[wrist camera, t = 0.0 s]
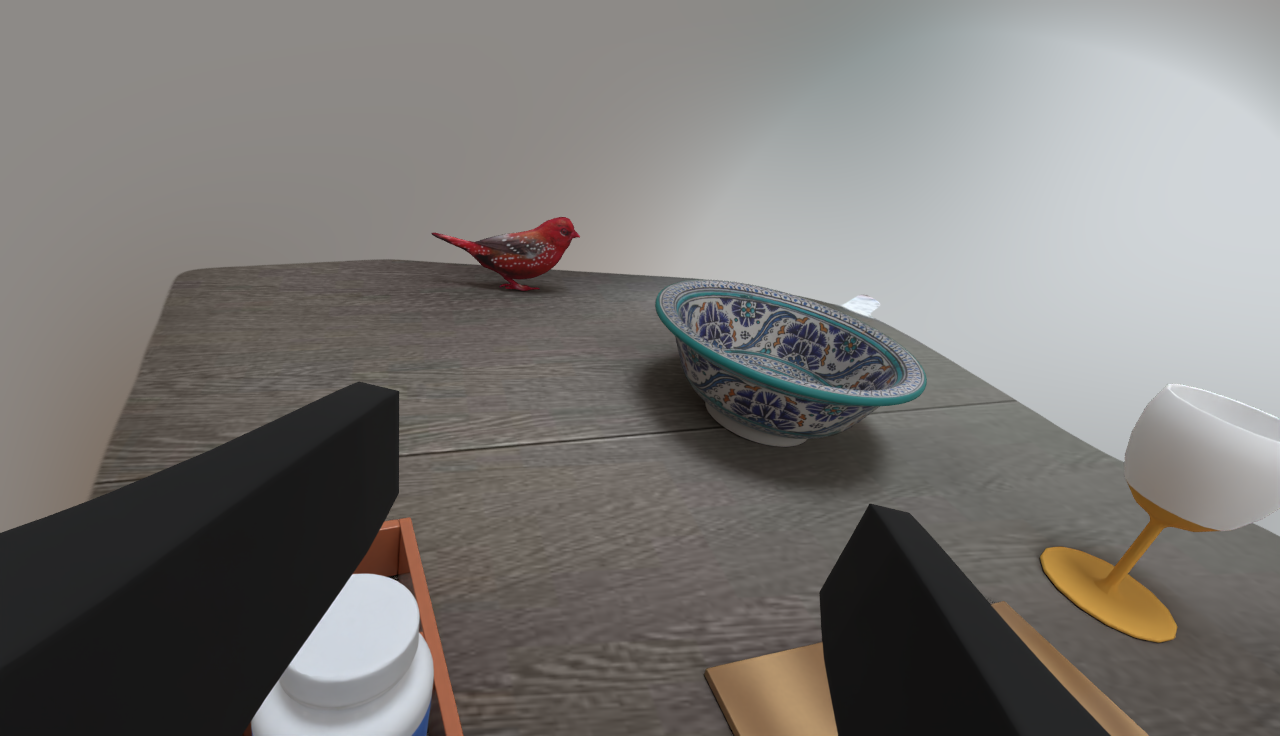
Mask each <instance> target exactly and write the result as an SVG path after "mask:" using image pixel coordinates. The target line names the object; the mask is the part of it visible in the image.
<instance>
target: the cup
mask: <svg viewBox="0 0 1280 736" xmlns="http://www.w3.org/2000/svg"><path fill="white" fill-rule="evenodd" d="M1124 477H1125V478H1126V481H1127V483H1128V485H1129V488H1130V490H1131V492H1132V494H1133V497H1134V499H1135V500H1136V502H1137V503H1138V504H1139V505H1140V506H1141V507H1142V508H1143V509H1144V510H1145V511H1146V512H1147V513H1148V514H1149V516H1150V522H1149V523H1148V525H1147V526H1146V527H1145V528H1144V530H1143V531H1142V532H1141V534H1140V535H1139V536H1138V537H1137V539H1136V540H1135V541H1134V543H1133V544H1132V545H1131V546H1130V548H1129V549H1128V550H1127V552H1126V553H1125V554H1124V555H1123V557H1122V558H1121V559H1120V561H1119V562H1118V563H1117V564H1116V566H1115V567H1114V566H1113V565H1111V564H1109V563H1108V562H1106V561H1104V560H1102V559H1099V558H1097V557H1094V556H1092V555H1090V554H1087V553H1085V552H1083V551H1079V550H1075V549H1070V548H1066V547H1052V548H1046V549H1045V551H1044V552H1043V553H1042V555H1041V556H1040V560H1041V563H1042V567H1043V570H1044V572H1045V573H1046V575H1047V576H1048V577H1049V579H1050V580H1051V581H1052V582H1053V584H1054V585H1055V586H1056V588H1057V589H1058V590H1059V591H1061V592H1062V593H1063V594H1064V595H1065V596H1066V597H1067V598H1069V599H1070V600H1071V601H1072V602H1073V603H1074V604H1076V605H1077V606H1078V607H1079V608H1081V609H1082V610H1084V611H1085V612H1087V613H1088V614H1090V615H1091V616H1093V617H1095V618H1096V619H1098V620H1099V621H1101V622H1102V623H1104V624H1106V625H1107V626H1110V627H1112V628H1114V629H1116V630H1119V631H1121V632H1123V633H1125V634H1128V635H1130V636H1132V637H1134V638H1139V639H1144V640H1148V641H1153V642H1157V643H1160V642H1164V641H1168V640H1172V639H1174V638H1175V635H1176V630H1177V625H1176V623H1175V621H1174V619H1173V618H1172V616H1171V614H1170V612H1169V610H1168V609H1167V608H1166V607H1165V606H1164V605H1163V604H1162V603H1161V602H1160V601H1159V599H1158V598H1157V597H1156V596H1155V595H1154V594H1153V593H1152V592H1151V591H1149V590H1148V589H1147V588H1145V587H1144V586H1143V585H1142V584H1140V583H1139V582H1138V581H1136V580H1135V579H1134V578H1132V577H1131V576H1130V575H1128V573H1129V571H1130V570H1131V569H1132V568H1133V566H1134V565H1135V564H1136V562H1137V561H1138V560H1139V559H1140V557H1141V556H1142V555H1143V554H1144V552H1145V551H1146V550H1147V549H1148V547H1149V546H1150V545H1151V544H1152V542H1153V541H1154V540H1155V539H1156V537H1157V536H1158V535H1159V534H1160V532H1161V531H1162V530H1163V529H1164V528H1166V527H1176V528H1180V529H1183V530H1188V531H1192V532H1206V531H1228V530H1234V529H1236V528H1239V527H1242V526H1245V525H1247V524H1250V523H1253V522H1256V521H1259V520H1261V519H1263V518H1265V517H1266V516H1268V515H1270V514H1271V513H1273V512H1274V511H1276V510H1278V509H1280V418H1277V417H1275V416H1273V415H1271V414H1269V413H1266V412H1264V411H1262V410H1260V409H1257V408H1254V407H1252V406H1249V405H1246V404H1244V403H1241V402H1239V401H1236V400H1234V399H1231V398H1228V397H1225V396H1222V395H1219V394H1216V393H1213V392H1210V391H1206V390H1204V389H1199V388H1195V387H1190V386H1187V385H1182V384H1167V385H1166V386H1165V387H1164V388H1163V390H1161V391H1160V392H1159V393H1158V394H1157V395H1156V396H1155V398H1153V400H1152V401H1151V402H1150V403H1149V404H1148V405H1147V406H1146V408H1145V409H1144V411H1143V413H1142V415H1141V416H1140V418H1139V420H1138V422H1137V423H1136V425H1135V427H1134V429H1133V431H1132V433H1131V436H1130V439H1129V443H1128V446H1127V450H1126V453H1125V469H1124Z"/></svg>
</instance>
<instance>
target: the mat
mask: <svg viewBox="0 0 1280 736" xmlns="http://www.w3.org/2000/svg"><path fill="white" fill-rule="evenodd" d="M991 605H992V607H993V608H994V609H995V610H996V611H997V612H998V613H999V615H1000V616H1001V617H1002V618H1003V619H1004V620H1005V621H1006V623H1007V624H1008V625H1009V626H1010V627H1011V628H1012V629H1013V631H1014V632H1015V633H1016V634H1017V635H1018V636H1019V637H1020V638H1021V640H1022V641H1023V642H1024V643H1025V644H1026V645H1027V646H1028V647H1029V649H1030V650H1031V651H1032V652H1033V653H1034V654H1035V655H1036V656H1037V657H1038V659H1039V660H1040V661H1041V662H1042V663H1043V664H1044V665H1045V666H1046V667H1047V668H1048V669H1049V671H1050V672H1051V673H1052V674H1053V675H1054V676H1055V677H1056V678H1057V679H1058V680H1059V681H1060V683H1061V684H1062V685H1063V686H1064V687H1065V688H1066V689H1067V690H1068V691H1069V692H1070V693H1071V694H1072V695H1073V696H1074V697H1075V698H1076V699H1077V700H1078V702H1079V703H1080V704H1081V705H1082V706H1083V707H1084V708H1085V709H1086V710H1087V711H1088V712H1089V713H1090V714H1091V715H1092V716H1093V717H1094V718H1095V719H1096V720H1097V721H1098V722H1099V724H1100V725H1101V726H1102V727H1103V728H1104V729H1105V730H1106V731H1107V732H1108V733H1109V734H1110V735H1111V736H1149V735H1148V734H1147V733H1146V732H1144V731H1143V730H1142V729H1141V728H1140V727H1139V726H1138V725H1137V724H1136V723H1135V722H1134V721H1133V720H1132V719H1130V718H1129V717H1128V716H1127V715H1126V714H1125V713H1124V712H1123V711H1122V710H1121V709H1120V708H1119V707H1118V706H1116V705H1115V704H1114V703H1113V702H1112V701H1111V700H1110V699H1109V698H1108V697H1107V696H1106V695H1105V694H1104V693H1103V692H1101V691H1100V690H1099V689H1098V688H1097V687H1096V686H1095V685H1094V684H1093V683H1092V682H1091V681H1090V680H1089V679H1087V678H1086V677H1085V676H1084V675H1083V674H1082V673H1081V672H1080V671H1079V670H1078V669H1077V668H1076V667H1075V666H1073V665H1072V664H1071V663H1070V662H1069V661H1068V660H1067V659H1066V658H1065V657H1064V656H1063V655H1062V654H1061V653H1059V652H1058V651H1057V650H1056V649H1055V648H1054V647H1053V646H1052V645H1051V644H1050V643H1049V642H1048V641H1047V640H1046V639H1044V638H1043V637H1042V636H1041V635H1040V634H1039V633H1038V632H1037V631H1036V630H1035V629H1034V628H1033V627H1032V626H1030V625H1029V624H1028V623H1027V622H1026V621H1025V620H1024V619H1023V618H1022V617H1021V616H1020V615H1019V614H1018V613H1016V612H1015V611H1014V610H1013V609H1012V608H1011V607H1010V606H1009V605H1008V604H1007V603H1006V602H1005V601H1002V602H998V603H994V604H991ZM704 675H705V677H706V679H707V681H708V683H709V685H710V687H711V689H712V691H713V693H714V695H715V697H716V699H717V701H718V704H719V706H720V708H721V710H722V712H723V714H724V716H725V718H726V720H727V722H728V724H729V726H730V728H731V730H732V732H733V734H734V736H838V732H837V727H836V722H835V717H834V711H833V706H832V701H831V695H830V690H829V685H828V679H827V674H826V668H825V663H824V655H823V642H821V643H817V644H812V645H808V646H804V647H799V648H795V649H790V650H786V651H782V652H777V653H773V654H768V655H764V656H759V657H755V658H751V659H746V660H742V661H737V662H733V663H729V664H724V665H720V666H715V667H711V668H707V669H706V671H705V673H704Z"/></svg>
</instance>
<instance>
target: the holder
mask: <svg viewBox="0 0 1280 736" xmlns="http://www.w3.org/2000/svg"><path fill="white" fill-rule="evenodd" d="M353 574H376V575H381V576H385V577H389V576H394V575H397V574H398V579H399V583H401V584H402V585H404V586H405V587H406V588H407V589H408V590H409V591H410V592H411V593H412V595H413V596H414V598H415V599H416V602H417V604H418V608H419V615H420V620H419V633H420V634H421V635H422V636H423V638H424V639H425V641H426V643H427V645H428V647H429V649H430V652H431V655H432V659H433V667H434V679H433V689H432V699H431V706H430V714H429V720H428V732H429V736H464V735H463V731H462V727H461V723H460V719H459V715H458V711H457V707H456V702H455V698H454V694H453V690H452V686H451V682H450V678H449V674H448V669H447V665H446V661H445V657H444V653H443V649H442V645H441V641H440V636H439V632H438V628H437V624H436V620H435V616H434V612H433V608H432V603H431V599H430V595H429V591H428V587H427V583H426V579H425V574H424V570H423V566H422V562H421V558H420V554H419V550H418V546H417V541H416V537H415V533H414V529H413V525H412V521H411V518H410V517H409V518H402V519H399V520H398V519H396V520H390V521H384V523H383V525H382V527H381V528H380V530H379V532H378V534H377V536H376V538H375V539H374V541H373V543H372V545H371V547H370V549H369V550H368V552H367V554H366V555H365V557H364V558H363V560H362V561H361V563H360V564H359V565H358V567H357V568H356V570H355V571H354V573H353ZM242 736H252V729H251V722H250V724H249V725H248V727H247V728H246V730H245V731H244V733H243V735H242Z"/></svg>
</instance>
